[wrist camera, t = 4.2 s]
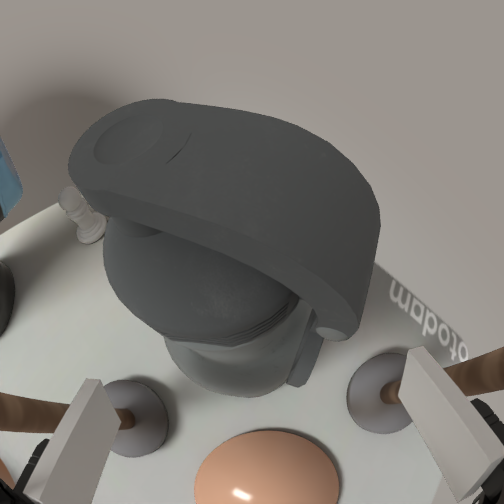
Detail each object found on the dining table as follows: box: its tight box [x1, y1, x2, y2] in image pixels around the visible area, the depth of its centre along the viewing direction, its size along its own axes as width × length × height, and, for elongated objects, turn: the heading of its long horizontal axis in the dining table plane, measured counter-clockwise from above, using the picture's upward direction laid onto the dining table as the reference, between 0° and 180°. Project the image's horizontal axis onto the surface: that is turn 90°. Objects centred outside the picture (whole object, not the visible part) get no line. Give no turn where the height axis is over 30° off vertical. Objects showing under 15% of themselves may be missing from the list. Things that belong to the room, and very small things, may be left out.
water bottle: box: [68, 99, 381, 398], centre depth 19 cm, size 10×10×28 cm
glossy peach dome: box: [194, 430, 339, 504], centre depth 23 cm, size 15×15×1 cm
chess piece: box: [58, 186, 107, 244], centre depth 36 cm, size 5×5×9 cm
